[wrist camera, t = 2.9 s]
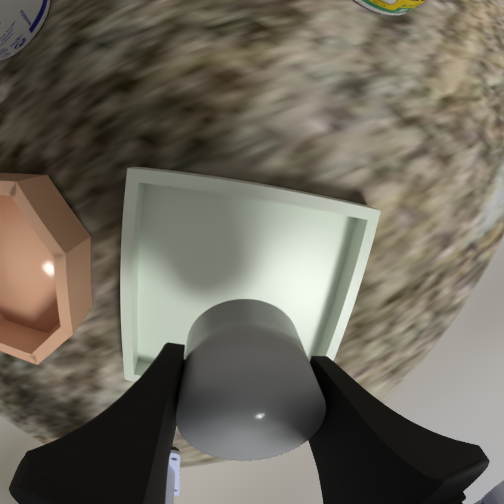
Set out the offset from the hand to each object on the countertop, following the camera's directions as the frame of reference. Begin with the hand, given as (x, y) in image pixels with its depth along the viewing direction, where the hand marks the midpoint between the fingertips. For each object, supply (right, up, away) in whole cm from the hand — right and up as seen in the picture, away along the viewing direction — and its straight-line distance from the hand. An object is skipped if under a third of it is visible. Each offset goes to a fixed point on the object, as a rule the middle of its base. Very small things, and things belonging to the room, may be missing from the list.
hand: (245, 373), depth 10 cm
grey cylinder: (0, +1, +1) cm, 2 cm away
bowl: (-14, +4, +4) cm, 15 cm away
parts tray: (-1, +2, +6) cm, 6 cm away
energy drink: (-14, +18, -1) cm, 23 cm away
